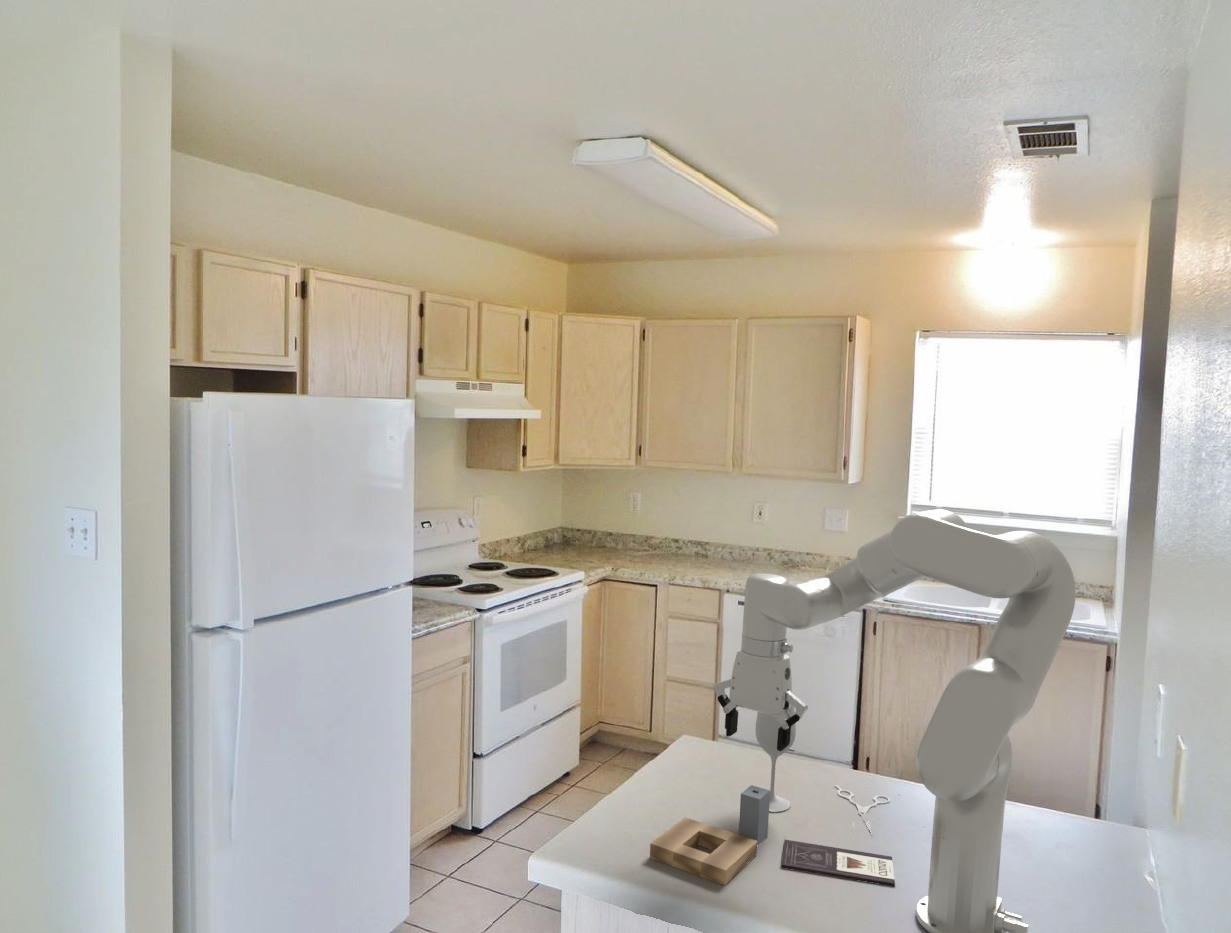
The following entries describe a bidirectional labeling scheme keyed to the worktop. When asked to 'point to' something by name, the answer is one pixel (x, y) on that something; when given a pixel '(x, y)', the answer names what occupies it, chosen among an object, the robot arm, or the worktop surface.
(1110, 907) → the worktop surface
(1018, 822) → the worktop surface
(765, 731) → the wineglass
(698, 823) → the socket board
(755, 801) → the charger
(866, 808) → the scissors
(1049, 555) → the robot arm
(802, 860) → the chocolate bar
